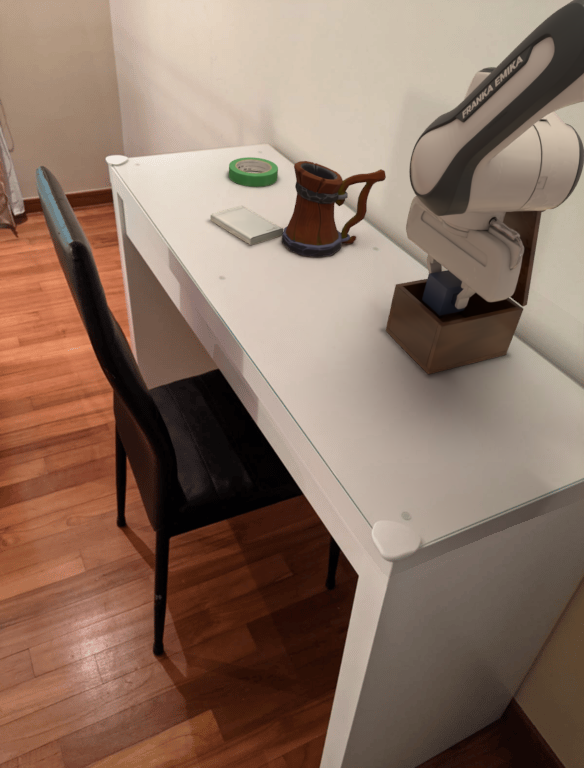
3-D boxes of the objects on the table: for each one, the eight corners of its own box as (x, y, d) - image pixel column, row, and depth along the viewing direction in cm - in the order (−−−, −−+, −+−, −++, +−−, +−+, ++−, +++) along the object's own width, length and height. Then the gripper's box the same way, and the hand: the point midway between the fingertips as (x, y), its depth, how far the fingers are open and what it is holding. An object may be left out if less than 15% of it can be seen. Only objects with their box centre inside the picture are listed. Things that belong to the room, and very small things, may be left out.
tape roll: (249, 190, 133) (250, 178, 132) (218, 174, 139) (219, 162, 137) (287, 181, 139) (288, 169, 138) (256, 165, 145) (256, 154, 144)
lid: (537, 211, 76) (571, 196, 78) (478, 176, 84) (510, 164, 85) (522, 307, 87) (553, 293, 88) (472, 268, 95) (500, 256, 96)
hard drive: (283, 227, 117) (243, 204, 123) (250, 238, 112) (210, 213, 119) (283, 235, 118) (242, 212, 125) (250, 246, 113) (210, 221, 120)
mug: (364, 230, 123) (377, 155, 113) (381, 257, 114) (396, 179, 105) (276, 230, 119) (282, 153, 110) (287, 259, 111) (294, 177, 101)
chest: (428, 374, 87) (442, 326, 82) (385, 330, 95) (395, 284, 90) (506, 354, 93) (524, 308, 88) (459, 314, 101) (473, 270, 96)
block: (464, 310, 88) (472, 284, 85) (439, 315, 86) (447, 288, 83) (446, 295, 91) (453, 269, 88) (421, 300, 89) (428, 273, 86)
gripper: (547, 235, 73) (510, 331, 82) (445, 172, 87) (423, 260, 96) (506, 242, 71) (473, 339, 79) (408, 176, 84) (389, 265, 93)
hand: (445, 295), depth 88 cm, fingers closed on block, 4 cm apart
